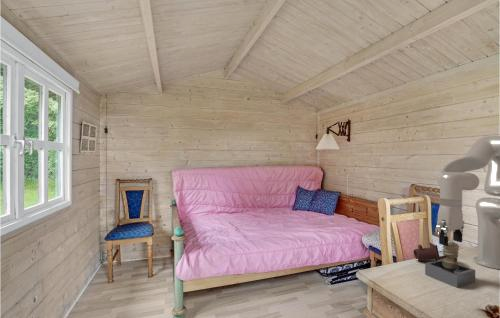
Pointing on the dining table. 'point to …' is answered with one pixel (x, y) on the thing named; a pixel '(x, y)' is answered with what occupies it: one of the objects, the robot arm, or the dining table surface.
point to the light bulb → (450, 256)
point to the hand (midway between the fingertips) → (450, 243)
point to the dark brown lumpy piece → (428, 253)
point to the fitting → (450, 274)
